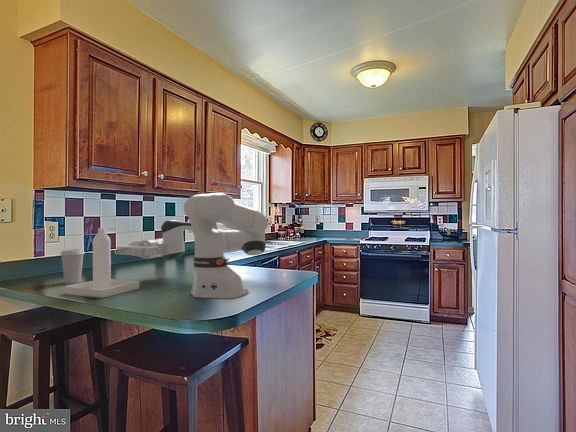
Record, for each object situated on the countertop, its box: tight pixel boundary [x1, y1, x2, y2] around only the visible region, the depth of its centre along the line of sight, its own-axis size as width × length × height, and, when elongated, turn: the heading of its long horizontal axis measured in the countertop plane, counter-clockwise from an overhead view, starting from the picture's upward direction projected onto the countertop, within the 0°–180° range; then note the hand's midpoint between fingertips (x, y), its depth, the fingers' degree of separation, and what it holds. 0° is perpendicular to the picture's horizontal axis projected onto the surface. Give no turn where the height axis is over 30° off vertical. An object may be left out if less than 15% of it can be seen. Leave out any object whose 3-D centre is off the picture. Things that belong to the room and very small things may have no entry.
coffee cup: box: [59, 248, 86, 285], centre depth 160 cm, size 10×10×15 cm
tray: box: [64, 278, 140, 299], centre depth 141 cm, size 20×18×3 cm
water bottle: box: [92, 227, 116, 289], centre depth 141 cm, size 9×6×25 cm
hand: (123, 252), depth 151 cm, fingers open, 8 cm apart
